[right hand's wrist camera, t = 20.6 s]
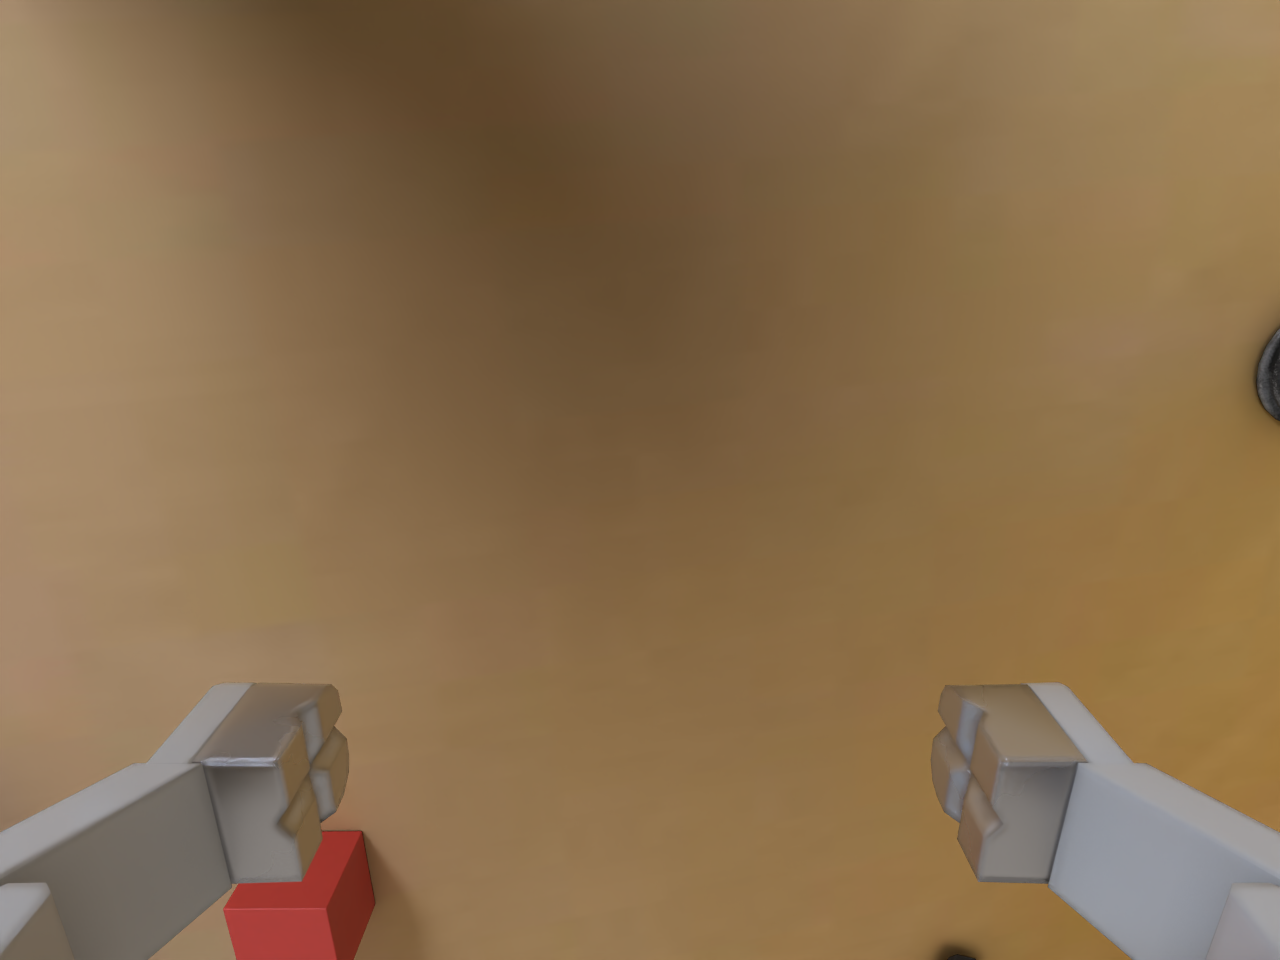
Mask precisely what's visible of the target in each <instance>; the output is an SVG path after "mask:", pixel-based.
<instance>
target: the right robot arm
mask: <svg viewBox="0 0 1280 960" xmlns="http://www.w3.org/2000/svg"><path fill="white" fill-rule="evenodd" d="M341 712H342V708H341V703H340V698H339V693H338V690H337V689H336V688H335V687H334V686H333V685H332V684H292V683H258V684H257V683H220V684H218V685H215V686H212V687H211V688H210V690H209V691H208V692H207V693H206V694H205V695H204V697H203V698H202V699H201V700H200V701H199V702H198V704H197V705H196V706H195V707H194V708H193V709H192V711H191V712H190V713H189V714H188V715H187V716H186V718H185V719H184V720H183V721H182V722H181V723H180V724H179V726H178V727H177V728H176V729H175V730H174V731H173V733H172V734H171V735H170V736H169V737H168V738H167V740H166V741H165V742H164V743H163V744H162V745H161V747H160V748H159V749H158V750H157V751H156V752H155V754H154V755H153V756H152V757H151V758H150V759H149V761H148V762H147V763H134V764H132V765H130V766H128V767H126V768H124V769H122V770H120V771H118V772H116V773H114V774H112V775H110V776H108V777H106V778H105V779H103V780H101V781H99V782H97V783H95V784H93V785H91V786H89V787H87V788H85V789H83V790H81V791H79V792H77V793H75V794H74V795H72V796H70V797H68V798H66V799H64V800H62V801H60V802H58V803H56V804H54V805H52V806H50V807H48V808H46V809H45V810H43V811H41V812H39V813H37V814H35V815H33V816H31V817H29V818H27V819H25V820H23V821H21V822H19V823H17V824H16V825H14V826H12V827H10V828H8V829H6V830H4V831H2V832H0V960H148V959H149V958H150V957H151V956H153V955H154V954H155V953H156V952H157V951H158V950H160V949H161V948H162V947H163V946H164V945H165V944H167V943H168V942H169V941H170V940H171V939H172V938H174V937H175V936H176V935H177V934H178V933H179V932H181V931H182V930H183V929H184V928H185V927H186V926H188V925H189V924H190V923H191V922H192V921H193V920H195V919H196V918H197V917H198V916H199V915H200V914H202V913H203V912H204V911H205V910H206V909H207V908H209V907H210V906H211V905H212V904H213V903H214V902H216V901H217V900H218V899H219V898H220V897H221V896H223V895H224V894H225V893H226V892H227V891H228V890H230V889H231V888H232V884H236V883H270V882H302V880H303V878H304V876H305V874H306V872H307V870H308V868H309V866H310V864H311V862H312V860H313V858H314V856H315V854H316V852H317V850H318V848H319V846H320V844H321V842H322V840H323V837H322V831H321V825H320V823H321V822H322V821H324V820H325V819H327V818H328V817H329V816H331V815H332V814H334V813H335V812H336V811H337V808H338V806H339V804H340V802H341V800H342V797H343V795H344V792H345V787H346V782H347V778H348V773H349V751H348V744H347V739H346V738H345V737H344V735H343V734H342V733H341V732H340V731H339V730H338V729H337V728H336V727H335V726H334V725H335V723H336V721H337V720H338V718H339V716H340V714H341ZM938 712H939V714H940V716H941V718H942V720H943V721H944V723H945V725H946V726H945V727H944V728H943V729H942V730H941V731H940V732H939V733H938V734H937V736H936V737H935V738H934V739H933V745H932V753H931V769H932V780H933V784H934V788H935V791H936V795H937V798H938V800H939V802H940V804H941V806H942V808H943V811H944V812H945V813H946V814H948V815H949V816H951V817H952V818H953V819H955V820H956V821H958V822H959V823H960V825H959V831H958V837H957V840H958V842H959V844H960V846H961V848H962V850H963V852H964V854H965V856H966V858H967V860H968V862H969V864H970V866H971V868H972V870H973V872H974V874H975V876H976V878H977V880H978V882H1008V883H1044V884H1048V887H1049V888H1050V889H1051V890H1052V891H1053V892H1054V893H1056V894H1057V895H1058V896H1059V897H1060V898H1061V899H1062V900H1064V901H1065V902H1066V903H1067V904H1068V905H1069V906H1071V907H1072V908H1073V909H1074V910H1075V911H1076V912H1078V913H1079V914H1080V915H1081V916H1082V917H1083V918H1085V919H1086V920H1087V921H1088V922H1089V923H1090V924H1092V925H1093V926H1094V927H1095V928H1096V929H1097V930H1099V931H1100V932H1101V933H1102V934H1103V935H1104V936H1106V937H1107V938H1108V939H1109V940H1110V941H1111V942H1113V943H1114V944H1115V945H1116V946H1117V947H1118V948H1120V949H1121V950H1122V951H1123V952H1124V953H1125V954H1127V955H1128V956H1129V957H1130V958H1131V959H1132V960H1280V832H1278V831H1276V830H1274V829H1272V828H1270V827H1268V826H1266V825H1264V824H1262V823H1260V822H1258V821H1256V820H1255V819H1253V818H1251V817H1249V816H1247V815H1245V814H1243V813H1241V812H1239V811H1237V810H1235V809H1233V808H1231V807H1229V806H1228V805H1226V804H1224V803H1222V802H1220V801H1218V800H1216V799H1214V798H1212V797H1210V796H1208V795H1206V794H1204V793H1202V792H1201V791H1199V790H1197V789H1195V788H1193V787H1191V786H1189V785H1187V784H1185V783H1183V782H1181V781H1179V780H1177V779H1175V778H1174V777H1172V776H1170V775H1168V774H1166V773H1164V772H1162V771H1160V770H1158V769H1156V768H1154V767H1152V766H1150V765H1148V764H1147V763H1133V762H1132V761H1131V759H1130V758H1129V757H1128V756H1127V755H1126V754H1125V752H1124V751H1123V750H1122V749H1121V748H1120V747H1119V745H1118V744H1117V743H1116V742H1115V741H1114V740H1113V738H1112V737H1111V736H1110V735H1109V734H1108V733H1107V731H1106V730H1105V729H1104V728H1103V727H1102V726H1101V725H1100V723H1099V722H1098V721H1097V720H1096V719H1095V718H1094V716H1093V715H1092V714H1091V713H1090V712H1089V711H1088V709H1087V708H1086V707H1085V706H1084V705H1083V704H1082V702H1081V701H1080V700H1079V699H1078V698H1077V697H1076V695H1075V694H1074V693H1073V692H1072V691H1071V690H1070V689H1069V687H1067V686H1065V685H1063V684H1061V683H1059V682H1049V683H1021V684H1008V685H945V687H944V689H943V691H942V693H941V696H940V701H939V707H938Z"/></svg>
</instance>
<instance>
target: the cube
mask: <svg viewBox="0 0 1280 960" xmlns="http://www.w3.org/2000/svg"><path fill="white" fill-rule="evenodd" d="M322 837H323V840H322V842H321V844H320V846H319V848H318V850H317V852H316V854H315V856H314V858H313V860H312V862H311V864H310V866H309V868H308V870H307V872H306V874H305V876H304V878H303V880H302V882H270V883H239V884H238V886H237V887H236V889H235V890H234V892H233V894H232V895H231V897H230V899H229V900H228V902H227V904H226V905H225V907H224V909H223V911H224V914H225V918H226V922H227V926H228V929H229V933H230V937H231V940H232V944H233V948H234V952H235V955H236V959H237V960H353V959H354V957H355V954H356V952H357V949H358V947H359V944H360V942H361V939H362V936H363V934H364V931H365V929H366V926H367V924H368V921H369V919H370V916H371V914H372V911H373V908H374V906H375V901H374V895H373V890H372V884H371V879H370V873H369V868H368V862H367V857H366V851H365V846H364V841H363V835H362V831H322Z"/></svg>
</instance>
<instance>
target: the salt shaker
mask: <svg viewBox="0 0 1280 960" xmlns="http://www.w3.org/2000/svg"><path fill="white" fill-rule="evenodd" d="M1256 381H1257V388H1258V396H1259V398H1260V400H1261V402H1262V404H1263V406H1264V408H1265V409H1266V410H1267V411H1268V412H1269V413H1270V414H1271V415H1272V416H1273V417H1274V418H1275V419H1277V420H1279V421H1280V329H1279V330H1278V331H1277V332H1276V333H1275V335H1274V336H1273V338H1272V339H1271V340H1270V342H1269V343H1268V345H1267V346H1266V348H1265V350H1264V353H1263V355H1262V358H1261V360H1260V362H1259V367H1258V373H1257V380H1256Z"/></svg>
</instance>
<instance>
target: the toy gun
mask: <svg viewBox="0 0 1280 960" xmlns="http://www.w3.org/2000/svg"><path fill="white" fill-rule="evenodd" d="M948 960H976V959H975V958H970V957H966V956H962V955H958V954H957V955H954V956H952V957H949V958H948Z"/></svg>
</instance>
